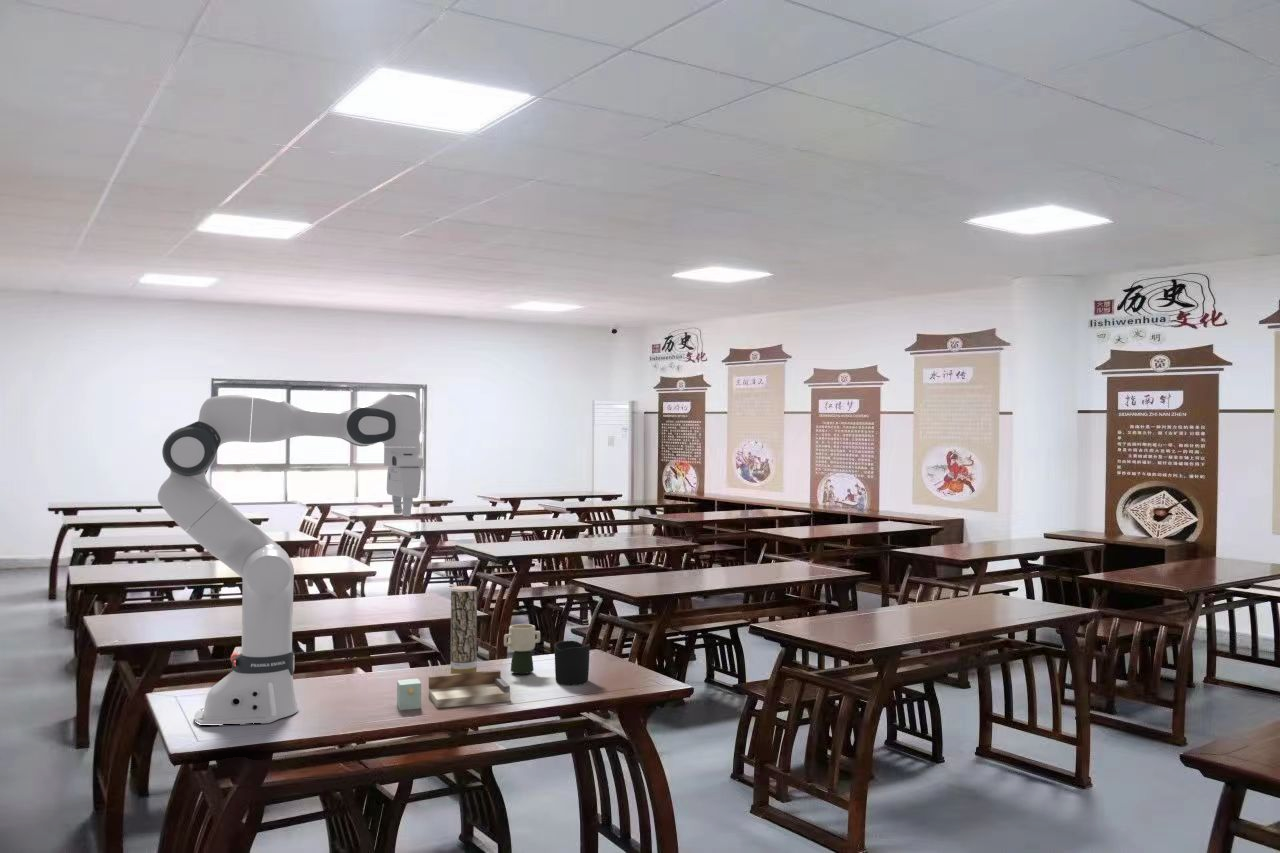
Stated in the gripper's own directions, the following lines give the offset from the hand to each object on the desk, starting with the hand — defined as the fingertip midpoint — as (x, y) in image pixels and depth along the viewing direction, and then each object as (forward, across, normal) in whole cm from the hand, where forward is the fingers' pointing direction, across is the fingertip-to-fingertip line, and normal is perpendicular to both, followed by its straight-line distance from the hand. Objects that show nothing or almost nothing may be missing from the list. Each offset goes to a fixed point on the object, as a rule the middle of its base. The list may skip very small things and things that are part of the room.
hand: (402, 515), depth 238 cm
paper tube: (+46, -12, +19) cm, 51 cm away
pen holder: (+46, 0, +45) cm, 65 cm away
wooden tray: (+46, +5, +16) cm, 49 cm away
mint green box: (+46, +6, +1) cm, 46 cm away
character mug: (+46, -14, +37) cm, 60 cm away
